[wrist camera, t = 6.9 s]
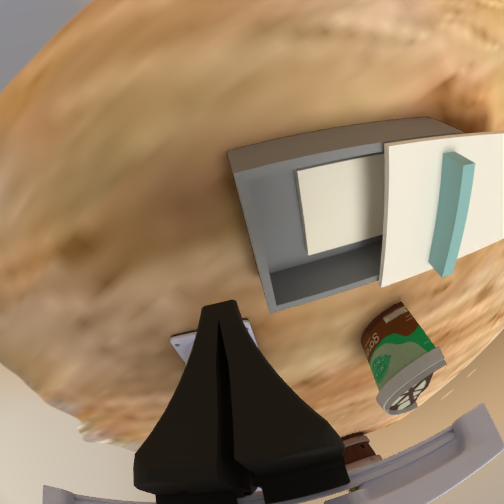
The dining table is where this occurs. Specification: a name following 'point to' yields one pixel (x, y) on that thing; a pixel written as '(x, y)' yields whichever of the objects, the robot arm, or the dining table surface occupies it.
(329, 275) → the grey sliding-lid box
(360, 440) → the flowerpot
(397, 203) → the lid
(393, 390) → the food container
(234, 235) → the dining table surface
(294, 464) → the robot arm
